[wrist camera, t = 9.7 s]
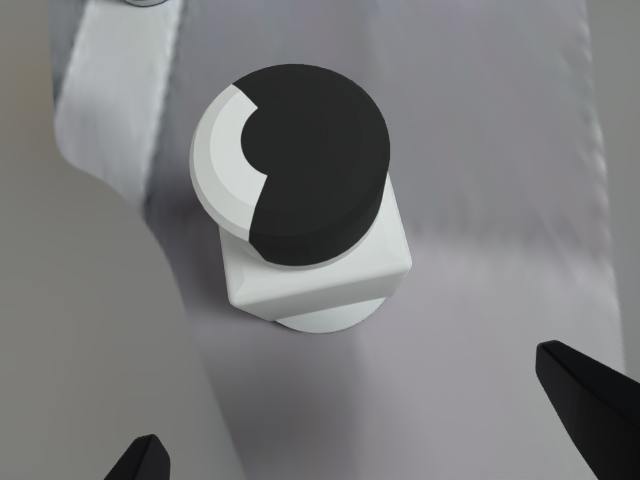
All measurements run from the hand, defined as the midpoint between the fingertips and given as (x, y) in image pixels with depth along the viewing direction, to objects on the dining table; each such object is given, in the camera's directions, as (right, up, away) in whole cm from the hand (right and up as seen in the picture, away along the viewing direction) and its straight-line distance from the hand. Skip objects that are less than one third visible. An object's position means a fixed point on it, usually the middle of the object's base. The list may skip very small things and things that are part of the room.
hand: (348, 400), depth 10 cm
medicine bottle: (-1, +3, +14) cm, 14 cm away
